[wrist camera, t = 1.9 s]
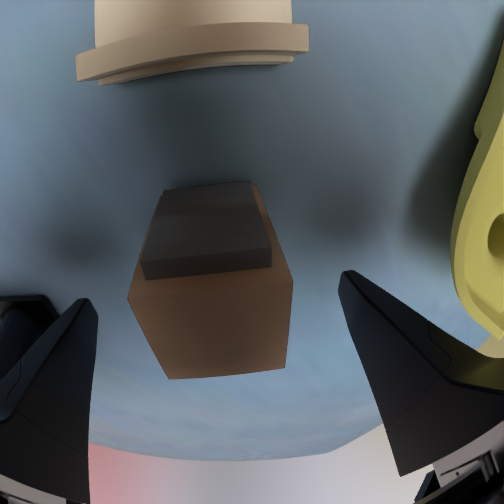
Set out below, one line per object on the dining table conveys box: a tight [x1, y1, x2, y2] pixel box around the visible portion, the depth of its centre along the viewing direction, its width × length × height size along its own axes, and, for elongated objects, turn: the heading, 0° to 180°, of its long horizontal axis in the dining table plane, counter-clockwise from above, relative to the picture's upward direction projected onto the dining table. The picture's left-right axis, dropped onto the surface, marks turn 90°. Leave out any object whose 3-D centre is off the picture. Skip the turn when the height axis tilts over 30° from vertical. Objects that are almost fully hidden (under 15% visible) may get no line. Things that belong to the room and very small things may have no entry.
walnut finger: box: [127, 181, 293, 379], centre depth 10 cm, size 4×5×6 cm
